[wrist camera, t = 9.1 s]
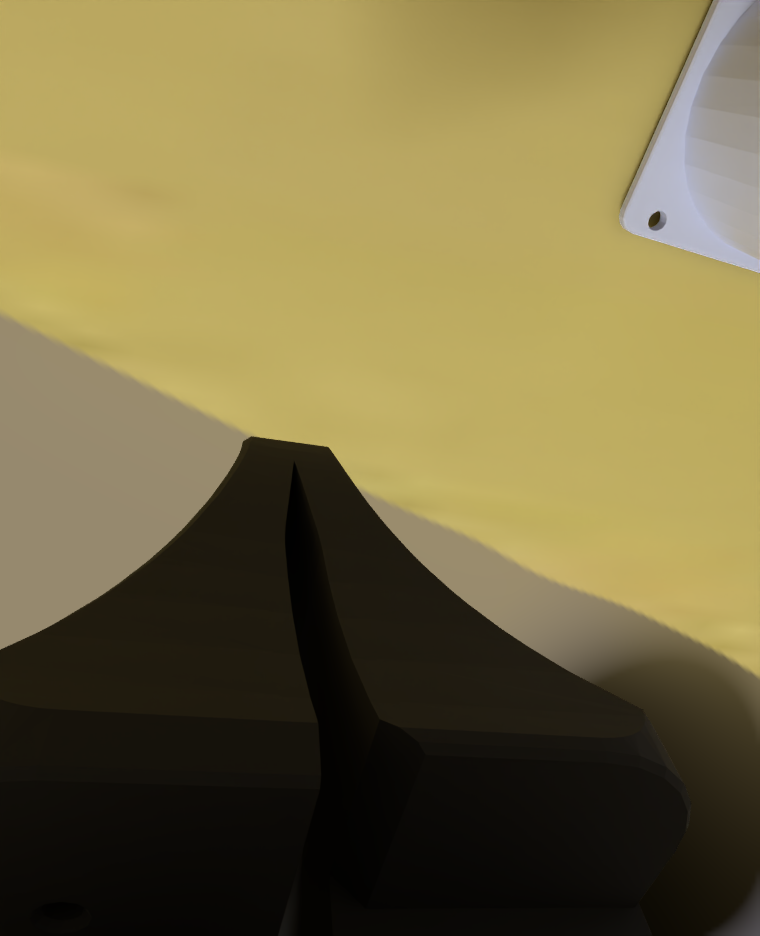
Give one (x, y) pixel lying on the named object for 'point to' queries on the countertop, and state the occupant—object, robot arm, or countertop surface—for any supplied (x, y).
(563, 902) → the robot arm
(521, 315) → the countertop surface
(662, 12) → the countertop surface
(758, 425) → the countertop surface
